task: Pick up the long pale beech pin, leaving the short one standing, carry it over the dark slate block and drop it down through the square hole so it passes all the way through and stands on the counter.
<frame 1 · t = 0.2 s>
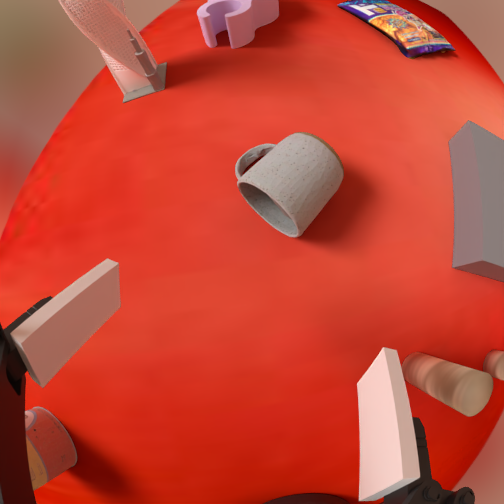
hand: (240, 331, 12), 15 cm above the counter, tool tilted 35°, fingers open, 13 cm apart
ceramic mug: (280, 191, 29), on the counter
long pin: (414, 367, 24), on the counter
canned food: (52, 437, 26), on the counter
hole block: (492, 214, 26), on the counter
clip: (241, 21, 36), on the counter
skyscraper: (142, 82, 35), on the counter
food package: (392, 26, 35), on the counter
short pin: (491, 362, 23), on the counter
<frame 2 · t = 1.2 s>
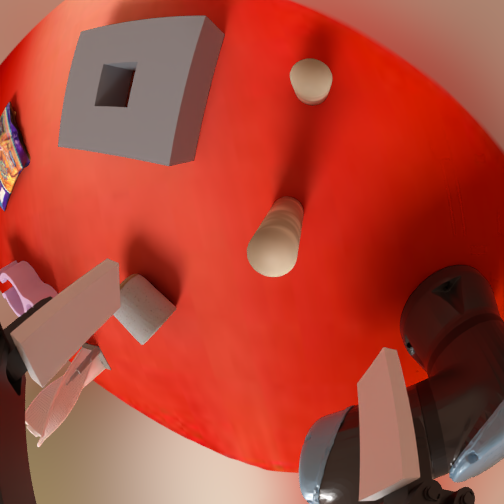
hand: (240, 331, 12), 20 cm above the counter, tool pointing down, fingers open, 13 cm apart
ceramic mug: (151, 300, 40), on the counter
long pin: (287, 212, 30), on the counter
hole block: (144, 89, 28), on the counter
clip: (38, 288, 49), on the counter
skyscraper: (96, 356, 53), on the counter
food package: (7, 159, 38), on the counter
short pin: (311, 89, 24), on the counter
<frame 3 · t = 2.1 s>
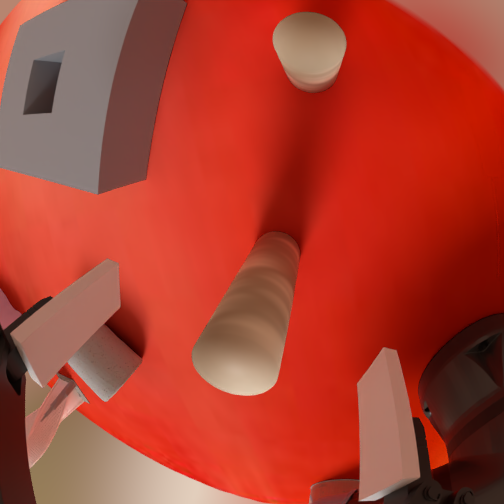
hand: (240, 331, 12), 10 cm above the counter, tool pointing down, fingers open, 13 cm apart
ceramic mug: (116, 346, 31), on the counter
long pin: (276, 253, 21), on the counter
canned food: (338, 486, 37), on the counter
hole block: (88, 86, 19), on the counter
clip: (11, 313, 40), on the counter
skyscraper: (73, 388, 44), on the counter
short pin: (311, 69, 15), on the counter
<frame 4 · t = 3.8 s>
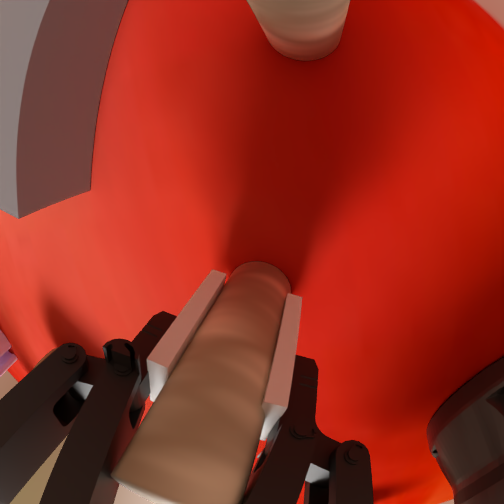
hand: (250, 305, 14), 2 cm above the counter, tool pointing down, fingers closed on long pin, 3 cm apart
long pin: (259, 290, 15), on the counter, touching gripper
hole block: (34, 80, 13), on the counter
short pin: (303, 29, 9), on the counter
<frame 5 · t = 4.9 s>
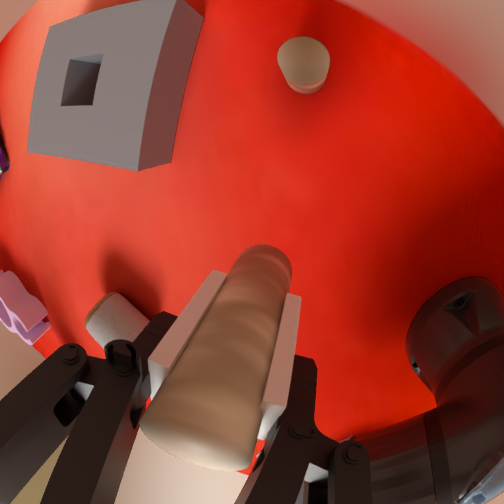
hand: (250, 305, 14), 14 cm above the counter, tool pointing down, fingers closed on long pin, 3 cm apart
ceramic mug: (131, 318, 37), on the counter
long pin: (263, 271, 17), point 10 cm above the counter, touching gripper
hole block: (116, 84, 23), on the counter
clip: (25, 298, 45), on the counter
short pin: (305, 76, 20), on the counter
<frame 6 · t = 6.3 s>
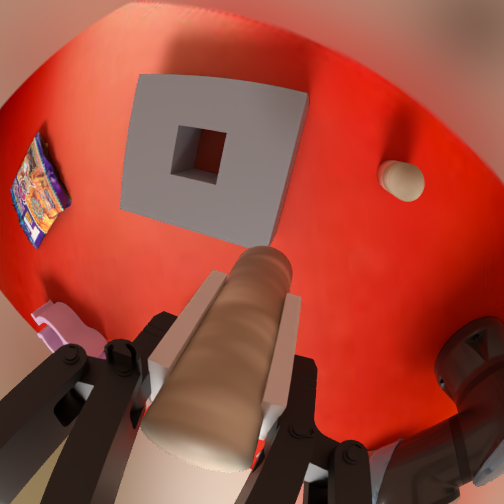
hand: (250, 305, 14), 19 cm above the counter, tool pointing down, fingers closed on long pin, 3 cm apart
long pin: (263, 272, 17), point 16 cm above the counter, touching gripper
hole block: (217, 151, 31), on the counter
clip: (78, 329, 52), on the counter
food package: (38, 194, 42), on the counter
short pin: (391, 175, 27), on the counter
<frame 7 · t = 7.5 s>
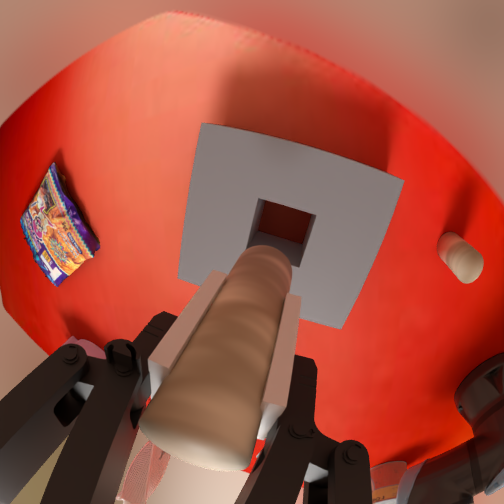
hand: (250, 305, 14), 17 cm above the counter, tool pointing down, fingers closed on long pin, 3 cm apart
long pin: (263, 271, 17), point 14 cm above the counter, touching gripper
canned food: (387, 467, 49), on the counter
hole block: (286, 215, 30), on the counter
clip: (106, 365, 51), on the counter
skyscraper: (173, 421, 55), on the counter
food package: (55, 229, 40), on the counter
short pin: (448, 245, 26), on the counter
when the fingers open (9 cm above the counter, at t = 9.9 s): long pin drops 5 cm, resting in hole block.
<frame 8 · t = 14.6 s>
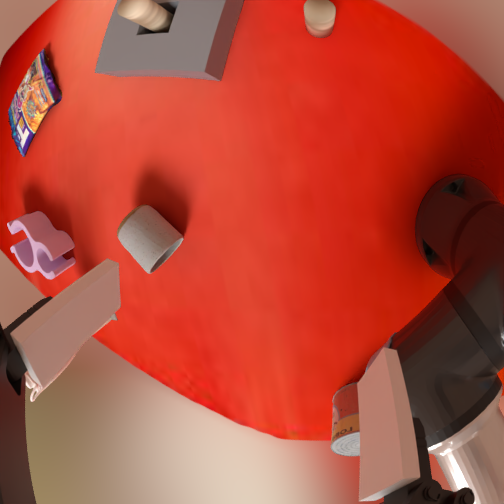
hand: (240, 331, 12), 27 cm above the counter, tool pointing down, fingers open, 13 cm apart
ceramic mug: (158, 236, 43), on the counter
long pin: (175, 30, 29), resting in hole block
canned food: (358, 397, 48), on the counter
hole block: (177, 30, 29), on the counter
clip: (49, 239, 50), on the counter
skyscraper: (102, 306, 54), on the counter
food package: (33, 106, 39), on the counter
short pin: (319, 27, 25), on the counter
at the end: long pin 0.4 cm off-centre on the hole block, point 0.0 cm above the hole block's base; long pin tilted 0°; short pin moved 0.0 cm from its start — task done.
